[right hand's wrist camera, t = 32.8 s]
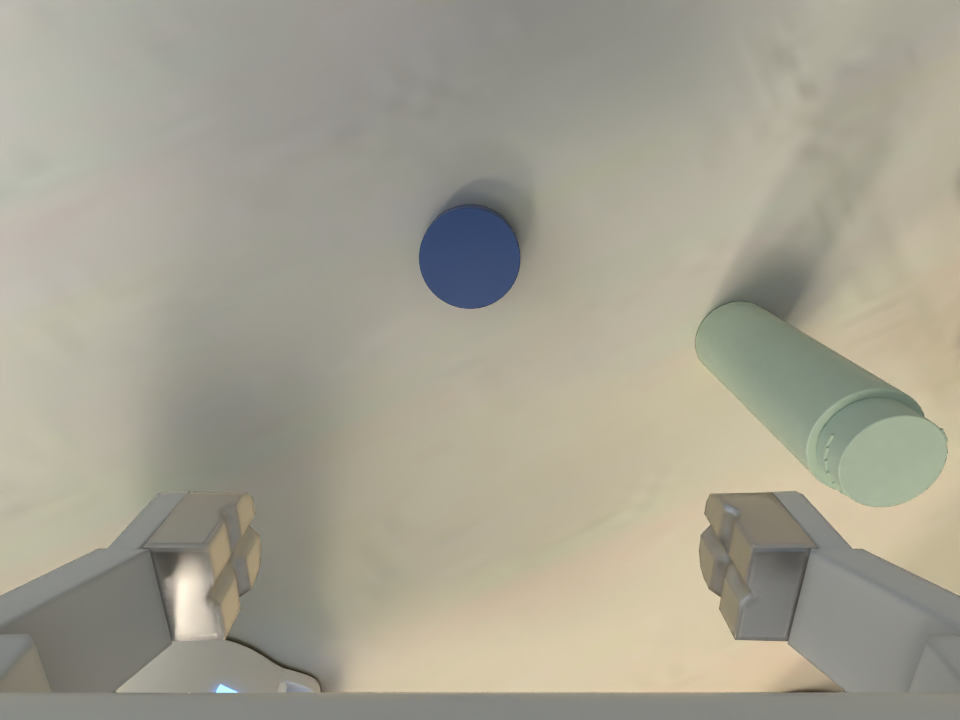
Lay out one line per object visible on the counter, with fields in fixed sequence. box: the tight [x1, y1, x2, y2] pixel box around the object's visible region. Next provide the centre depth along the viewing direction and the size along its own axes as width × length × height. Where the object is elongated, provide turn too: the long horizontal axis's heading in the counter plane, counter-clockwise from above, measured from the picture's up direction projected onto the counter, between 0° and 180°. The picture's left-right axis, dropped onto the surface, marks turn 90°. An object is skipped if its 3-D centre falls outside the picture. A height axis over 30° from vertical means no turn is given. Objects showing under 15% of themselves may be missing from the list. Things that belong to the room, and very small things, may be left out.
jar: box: [695, 301, 948, 507], centre depth 30 cm, size 5×5×15 cm
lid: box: [419, 204, 520, 309], centre depth 35 cm, size 6×6×2 cm
